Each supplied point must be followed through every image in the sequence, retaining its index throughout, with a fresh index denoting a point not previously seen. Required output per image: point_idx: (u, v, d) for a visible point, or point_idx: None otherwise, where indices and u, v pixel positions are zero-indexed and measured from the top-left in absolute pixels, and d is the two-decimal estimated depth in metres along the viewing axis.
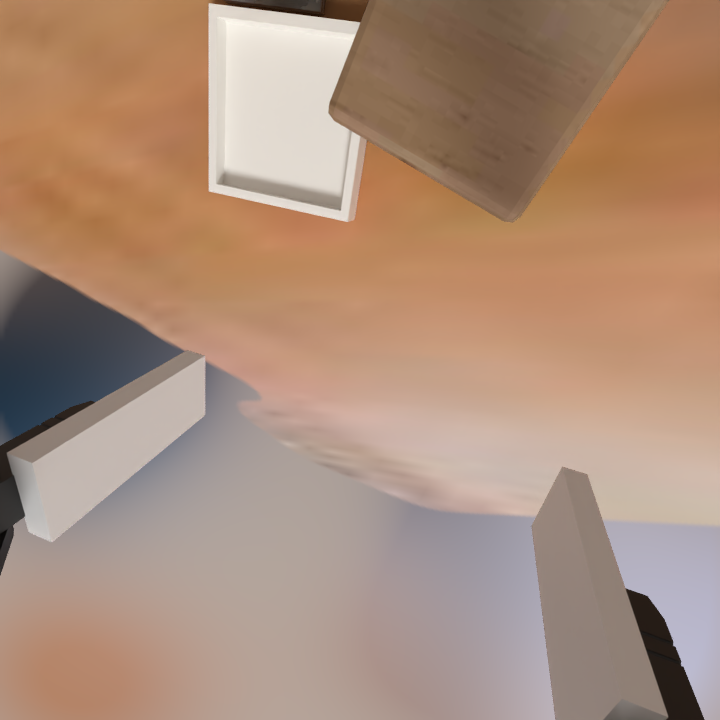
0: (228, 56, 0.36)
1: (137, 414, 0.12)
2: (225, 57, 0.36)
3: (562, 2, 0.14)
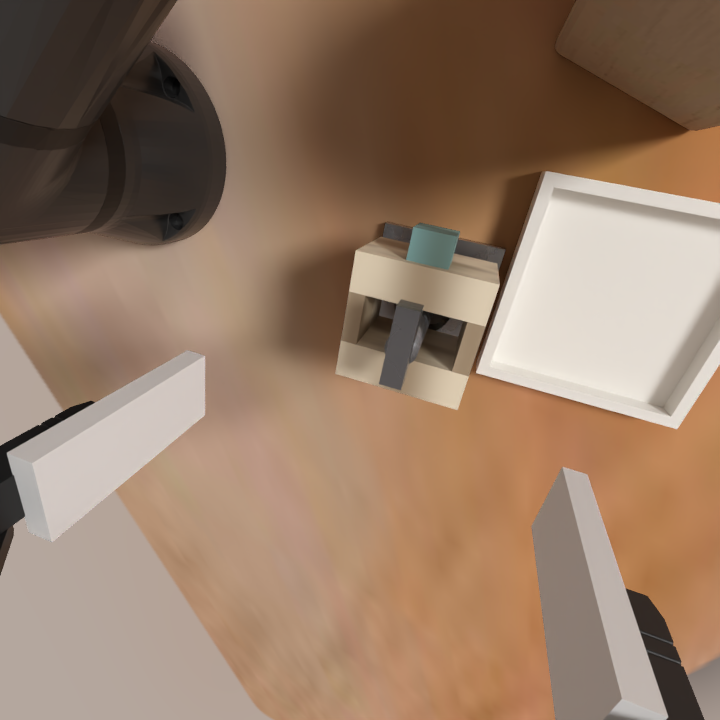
0: (520, 365, 0.32)
1: (137, 415, 0.12)
2: (521, 368, 0.32)
3: None
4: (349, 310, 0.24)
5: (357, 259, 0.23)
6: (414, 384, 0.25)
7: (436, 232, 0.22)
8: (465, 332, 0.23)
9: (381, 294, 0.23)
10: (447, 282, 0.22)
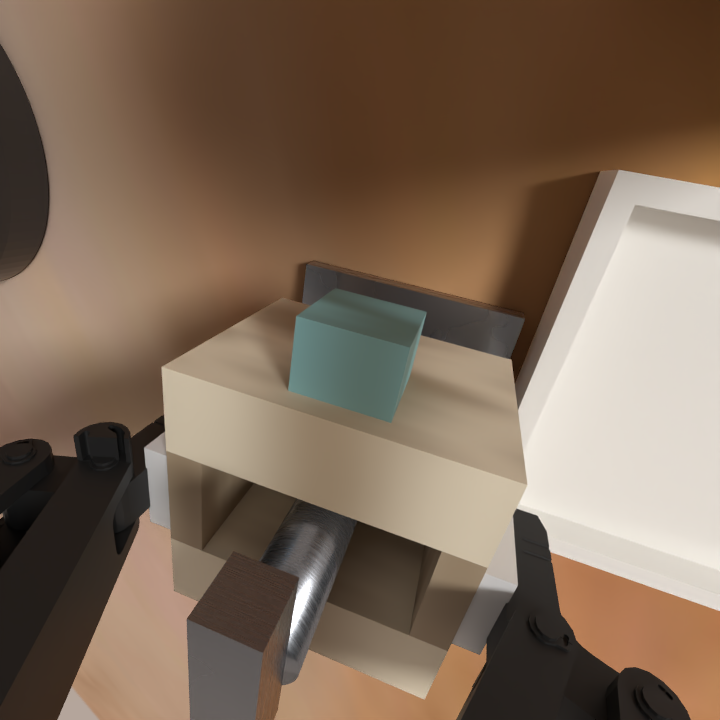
0: (548, 509, 0.18)
1: None
2: (549, 515, 0.18)
3: None
4: (175, 487, 0.11)
5: (169, 386, 0.09)
6: (330, 639, 0.11)
7: (355, 332, 0.08)
8: (437, 570, 0.09)
9: (235, 466, 0.10)
10: (386, 461, 0.08)
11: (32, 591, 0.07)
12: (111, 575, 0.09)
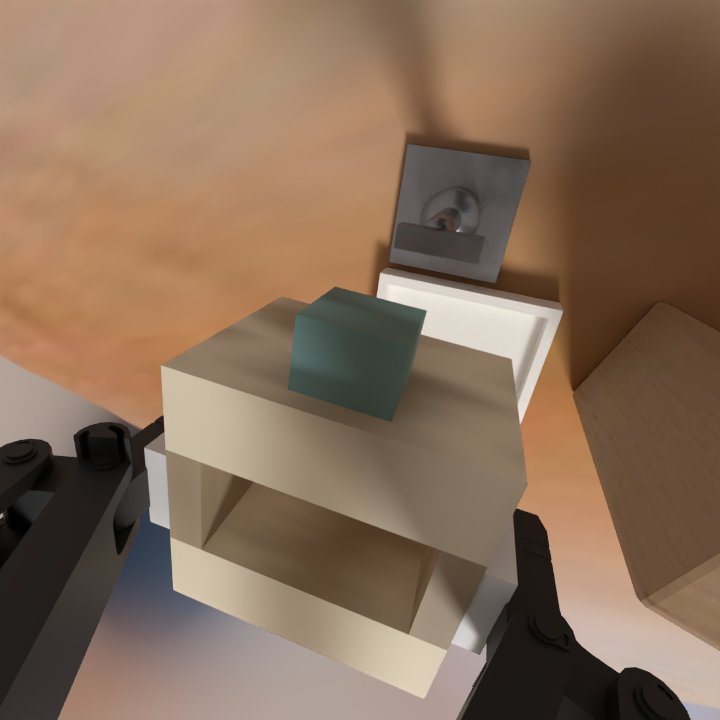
0: None
1: None
2: None
3: None
4: (174, 486, 0.11)
5: (169, 385, 0.09)
6: (329, 638, 0.11)
7: (355, 330, 0.08)
8: (437, 569, 0.09)
9: (235, 464, 0.10)
10: (386, 460, 0.08)
11: (32, 591, 0.07)
12: (111, 575, 0.09)
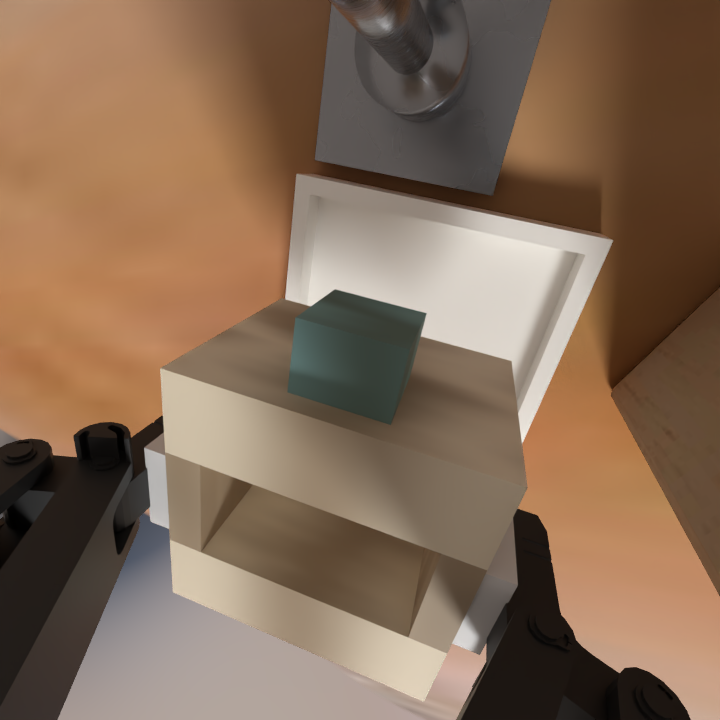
0: (318, 240, 0.22)
1: None
2: (313, 242, 0.22)
3: None
4: (174, 488, 0.11)
5: (168, 388, 0.09)
6: (329, 641, 0.11)
7: (355, 333, 0.08)
8: (436, 572, 0.09)
9: (234, 467, 0.10)
10: (385, 464, 0.08)
11: (32, 591, 0.07)
12: (111, 575, 0.09)
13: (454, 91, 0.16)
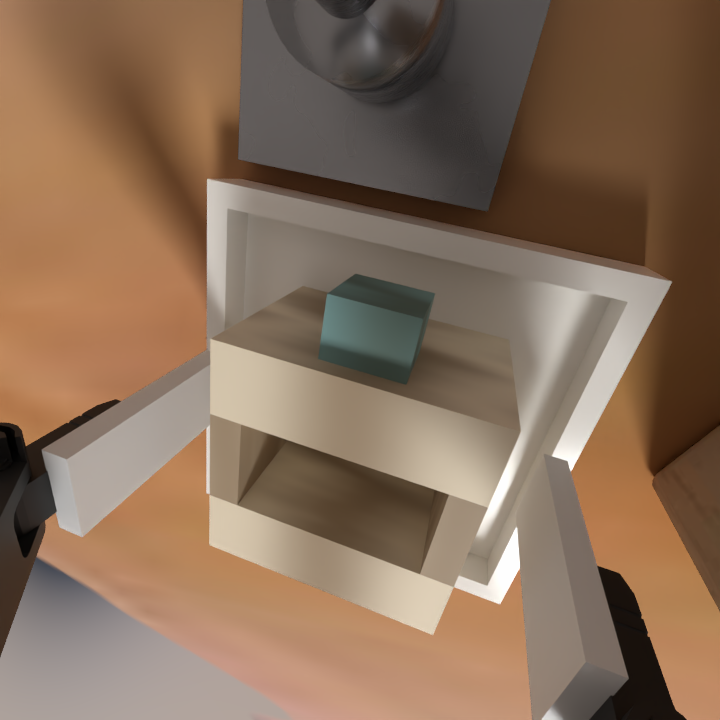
0: (250, 270, 0.16)
1: (161, 412, 0.13)
2: (244, 272, 0.16)
3: None
4: (216, 447, 0.12)
5: (216, 356, 0.11)
6: (349, 583, 0.13)
7: (377, 306, 0.10)
8: (445, 512, 0.11)
9: (271, 425, 0.11)
10: (402, 416, 0.10)
11: None
12: (19, 579, 0.09)
13: (427, 51, 0.10)
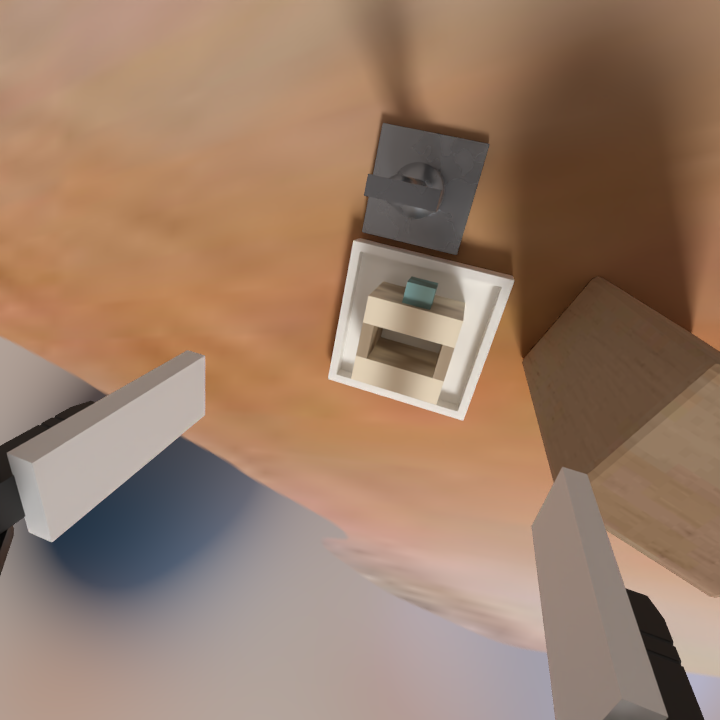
0: (361, 274, 0.39)
1: (136, 415, 0.12)
2: (358, 275, 0.39)
3: None
4: (362, 335, 0.35)
5: (369, 301, 0.34)
6: (406, 386, 0.36)
7: (422, 285, 0.33)
8: (441, 351, 0.34)
9: (385, 325, 0.34)
10: (429, 318, 0.33)
11: None
12: None
13: None
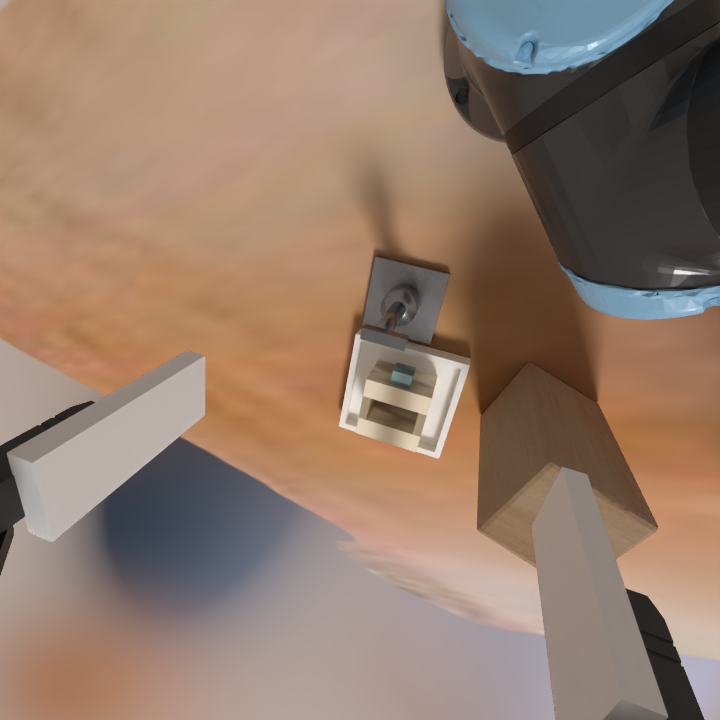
0: (362, 354, 0.54)
1: (136, 415, 0.12)
2: (360, 354, 0.54)
3: None
4: (362, 404, 0.50)
5: (367, 382, 0.48)
6: (394, 439, 0.50)
7: (403, 373, 0.47)
8: (417, 417, 0.48)
9: (378, 398, 0.49)
10: (408, 395, 0.48)
11: None
12: None
13: None
